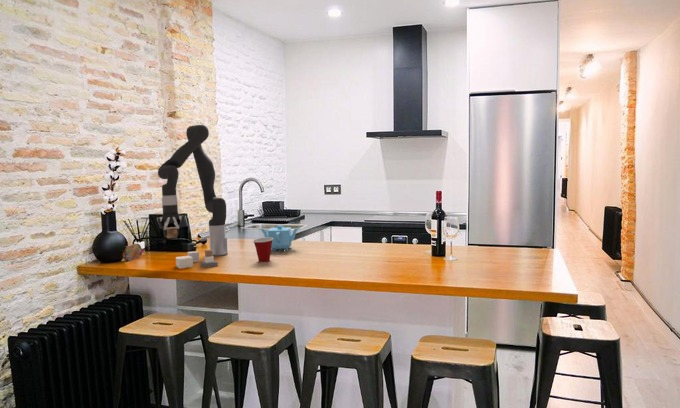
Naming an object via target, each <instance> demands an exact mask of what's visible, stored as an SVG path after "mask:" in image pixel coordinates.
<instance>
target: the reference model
mask: <svg viewBox="0 0 680 408" xmlns="http://www.w3.org/2000/svg"><path fill="white" fill-rule="evenodd" d="M214 256H215V255H212V250H210V249H205V250H204V256H203V261H200V266H201V267H202V266H203V267H202V268H204V269H206V268H212V267H213V266H214V267H218V264H219V263H218V261H216V260H215V258H214ZM205 267H206V268H205Z"/></svg>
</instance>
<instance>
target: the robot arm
mask: <svg viewBox="0 0 680 408" xmlns="http://www.w3.org/2000/svg"><path fill="white" fill-rule="evenodd" d="M185 132H186V138H187V141H186V142H185V143H184V144H183V145H181V146H180V147H179V148H178V149H177V150H175V152H174V153H173V154H172V155H171V157H170V158H169V159H167V160H166V161H165V162H164V163H162V164H161V165H160V166H159V167H158V170H157V175H158V178H160V179H162V180H166V183H164V184H162V186H161V195H162V197H161V201H162V202H161V205H162V216H160V217H156V221H157V223H158V227H159V229H161V230H163V235H164V236H165V238H166V237H167V230H166V228H168V225H169V224H174V225H175V226H174V227H176V228H177V237H179V235H180V228H183V226H184V221H185V216H184V215H179V210H178V209H179V208H178V207H179V206H178V197H177V196H178V194H177V185H178V184H177V183H178V181H179V180H178V179H179V170H178V169H179V168H181V167H182V166H183V165H184V164H185V162H187V160H188V159H189V157H190V156H191V155H192V156H193V159H194V161H195V165H196V170H197V171H196V172H197V173H198V178H199V181H200V186H201V189H202V190H201V191H202V195H203V201H204V207H205V209H206V211H207V212H208V213H210V214H212V217H211V219H209V220H208V233H209V234H208V235H209V250H212V256H224V255H229V254H228V251H229V250H228V237H227V236H226V235H227V234H226V220H227V202H226V200H225V199H224V198H222V197H221V196H220V197H219V196H218V197H217V196H216V192H215V180H216V171H215V167H214V163H213V161H212V159H210V157H209V156H208V155H207V154H206V152H205V151H204V149H203V146H202V144H203V143H204V142H205V141H207V139H208V138H209V135H210V131H209V128H208V127H207V126H206V125H205V124H195V125H194V124H193V125H190V126H188V127H187V129H186V131H185ZM178 219H179V220H180V222H179V223H178ZM162 220H163V221H164V225H163V224H162Z"/></svg>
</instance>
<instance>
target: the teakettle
mask: <svg viewBox="0 0 680 408" xmlns="http://www.w3.org/2000/svg"><path fill="white" fill-rule="evenodd" d="M300 229H301V227H297V228H294V229H293V230H292V227H291V226H289V227H285V226H284V225H283V224H282V225H281V224H280V225H279V224H278V225H276V227H270V229H268V231H266V229H264V228H259V230H260V231H262V233H263V234H264V235H263V236H264V238H265V237H271V238H273V240H272V246H271V252H276V251H277V250H278V249H279V250H281V249H282V251H283V250H288V251H289V250H290V249H289V248H291V247H292V242H293V241H294V239H295V238H296V235H297V232H298V230H300ZM292 231H293V232H292Z"/></svg>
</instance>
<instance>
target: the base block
mask: <svg viewBox="0 0 680 408" xmlns="http://www.w3.org/2000/svg"><path fill="white" fill-rule="evenodd" d="M175 267H176V268H178V269H180V270H181V269H187V267H188V268H193V267H194V262H193V258H192V257H191V256H188V255H183V256H176V257H175Z"/></svg>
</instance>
